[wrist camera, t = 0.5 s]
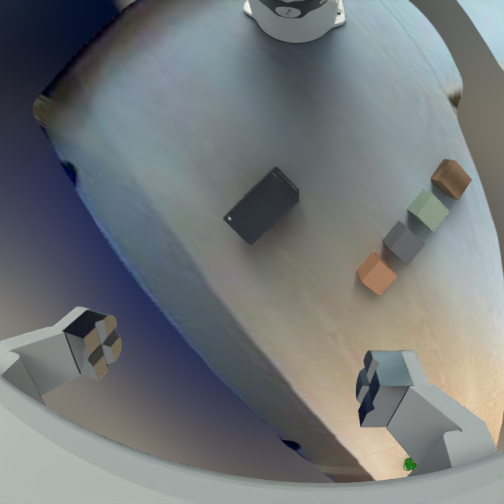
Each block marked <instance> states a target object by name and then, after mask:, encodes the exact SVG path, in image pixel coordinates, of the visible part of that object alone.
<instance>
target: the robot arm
mask: <svg viewBox="0 0 504 504" xmlns="http://www.w3.org/2000/svg"><path fill="white" fill-rule="evenodd" d="M243 9H244V12H245V13H246V14H247V15H249V16H251V17H252V18H254V19H255V20H256V21H257V23H258V24H259V26H260V27H261V28H262V30H263V31H265V32H266V33H267V34H268V35H270V36H272V37H273V38H276V39H278V40H281V41H285V42H291V43H303V42H309V41H312V40H315V39H317V38H319V37H321V36H323V35H324V34H325V33H326V32H327V31H329V30H330V29H331V28H334V27H337V26H340V25H343V24H344V23H345V21H346V17H345V12H344V7H343V2H342V0H246V2H245V4H244V7H243ZM337 13H339V14H340V15H337ZM116 327H117V324H116V320H115V318H114V317H113V316H112V315H109V314H106V313H102V312H99V311H95V310H92V309H88V308H84V307H76V308H75V309H74V310H72V311H71V312H70V313H69V314H68V315H66V316H65V317H64V318H63V319H61V320H60V321H59V322H58V323H57V324H55V325H54V326H53V327H52V328H51V327H46V328H43V329H40V330H36V331H33V332H29V333H26V334H23V335H19V336H16V337H12V338H9V339H5V340H2V341H0V504H504V451H502V452H499V453H498V452H497V449H496V447H495V444H494V442H493V439H492V437H491V434H490V432H489V430H488V427H487V425H486V423H485V422H484V421H483V420H481V419H480V418H479V417H477V416H476V415H475V414H473V413H472V412H471V411H469V410H468V409H466V408H465V407H464V406H462V405H461V404H460V403H458V402H457V401H456V400H454V399H453V398H452V397H450V396H449V395H447V394H446V393H445V392H443V391H442V390H441V389H439V388H438V387H437V386H435V385H430V384H429V382H428V379H427V377H426V375H425V372H424V370H423V368H422V366H421V363H420V361H419V359H418V357H417V355H416V352H415V351H413V350H398V351H371V350H368V351H367V353H366V355H365V358H364V365H365V368H363V369H362V370H361V371H360V372H359V375H358V378H357V384H356V398H357V401H358V402H359V403H360V404H361V405H360V408H359V410H358V413H359V420H360V427H386V429H387V430H388V431H389V432H390V433H391V435H392V436H393V437H394V438H395V439H396V441H397V442H398V443H399V444H400V445H401V446H402V448H403V449H404V450H405V451H406V452H407V454H408V455H409V456H410V457H411V458H412V460H413V461H414V462H415V463H416V464H417V466H416V467H415V469H414V470H413V471H412V472H411V473H410V474H409V475H408V476H407V477H404V478H397V479H389V480H380V481H370V482H355V483H298V482H283V481H272V480H262V479H255V478H248V477H241V476H235V475H229V474H224V473H219V472H214V471H209V470H205V469H201V468H197V467H193V466H188V465H184V464H181V463H178V462H174V461H171V460H167V459H164V458H161V457H158V456H154V455H151V454H148V453H145V452H143V451H140V450H137V449H134V448H132V447H129V446H126V445H124V444H121V443H119V442H116V441H114V440H112V439H109V438H107V437H105V436H102V435H100V434H98V433H96V432H94V431H92V430H89V429H87V428H85V427H83V426H81V425H79V424H77V423H75V422H73V421H71V420H70V419H67V418H66V417H64V416H62V415H60V414H59V413H57V412H55V411H53V410H52V409H50V408H48V407H46V405H45V403H44V401H43V399H42V398H41V396H42V395H44V394H46V393H48V392H50V391H52V390H54V389H56V388H58V387H59V386H61V385H63V384H65V383H67V382H69V381H71V380H73V379H75V378H77V377H78V376H80V375H83V376H86V377H89V378H91V379H94V380H97V381H99V380H100V379H101V378H102V377H103V375H104V374H105V373H106V372H107V371H108V364H110V363H112V362H115V360H116V359H117V358H118V356H119V354H120V351H121V340H120V336H119V335H118V334H117V332H116V331H115V329H116Z"/></svg>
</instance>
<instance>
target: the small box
mask: <svg viewBox="0 0 504 504" xmlns="http://www.w3.org/2000/svg"><path fill="white" fill-rule="evenodd" d="M298 202H299V190H298V189H297V188H296V186H295V185H294V184H293V183H292V182H291V181H290V180H289V179H288V178H287V177H286V176H285V175H284V174H283V173H282V172H281V171H280V170H279V169H278V168H277V167H274V168H273V169H272V170H271V171H270V172H269V173H268V174H267V175H266V176H264V177H263V178H262V179H261V180H260V181H259V182H258V183H257V184H256V185H255V186H254V187H253V188H252V189H251V190H250V191H249V192H248V193H247V194H246V195H244V197H243V198H242V199H241V200H240V201H239V202H238V203H237V204H236V205H235V206H234V207H233V208H232V209H231V210H230V211H229V212H228V213H227V214H226V215H225V216H224V217H223V220H224V221H225V222H226V223H227V224H229V226H231V227H232V228H233V229H234V230H235V231H236V232H237V233H238V234H239V235H240V236H241V237H242V238H243V239H244V240H245V241H246V242H247V243H248V244H249V245H252V244H253V243H254V242H255V241H256V240H257V239H258V238H260V237H261V236H262V235H263V234H264V233H265V232H266V231H267V230H268V229H269V228H270V227H271V226H273V225H274V224H275V223H276V222H277V221H278V220H279V219H280V218H281V217H282V216H283V215H285V214H286V213H287V212H288V211H289V210H290V209H291V208H292V207H293V206H294V205H296V204H297V203H298Z"/></svg>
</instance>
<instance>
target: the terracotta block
mask: <svg viewBox="0 0 504 504" xmlns="http://www.w3.org/2000/svg"><path fill="white" fill-rule="evenodd" d="M357 273H358V275H359V278H360V280H361V282H362V283H363V284H365V285H366V286H367V287H369V288H370V289H371V290H372V291H374V292H375V293H376V294H378V295H379V296H380V295H381V294H382V293H383V292H384V291H385V290H386V289H387V287H388V286H389V285H390V284H391V283H392V282H393V281H394V280H395V279H396V277H397V275H396V274H395V272H394V271H393V269H392V268H391V266H390V265H389V264H387V263H386V262H385V261H384V260H383V259H382V258H380V257H379V256H378V255H377V254H376V253H374V252H372V253H371V255H370V256H369V257H368V258H367V259H366V261H365V262H364V263H363V264H362V265H361V266H360V267H359V269H358V270H357Z"/></svg>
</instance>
